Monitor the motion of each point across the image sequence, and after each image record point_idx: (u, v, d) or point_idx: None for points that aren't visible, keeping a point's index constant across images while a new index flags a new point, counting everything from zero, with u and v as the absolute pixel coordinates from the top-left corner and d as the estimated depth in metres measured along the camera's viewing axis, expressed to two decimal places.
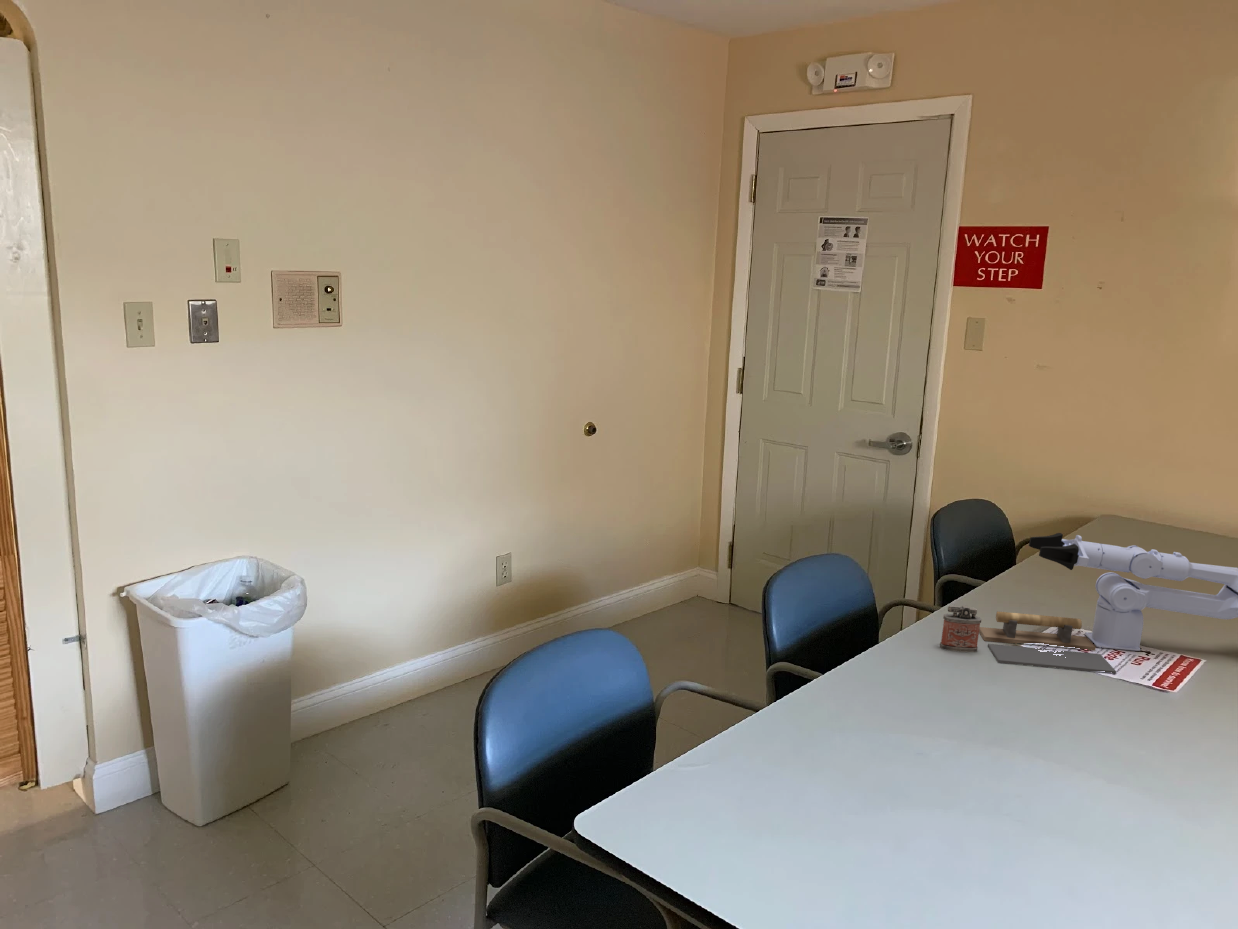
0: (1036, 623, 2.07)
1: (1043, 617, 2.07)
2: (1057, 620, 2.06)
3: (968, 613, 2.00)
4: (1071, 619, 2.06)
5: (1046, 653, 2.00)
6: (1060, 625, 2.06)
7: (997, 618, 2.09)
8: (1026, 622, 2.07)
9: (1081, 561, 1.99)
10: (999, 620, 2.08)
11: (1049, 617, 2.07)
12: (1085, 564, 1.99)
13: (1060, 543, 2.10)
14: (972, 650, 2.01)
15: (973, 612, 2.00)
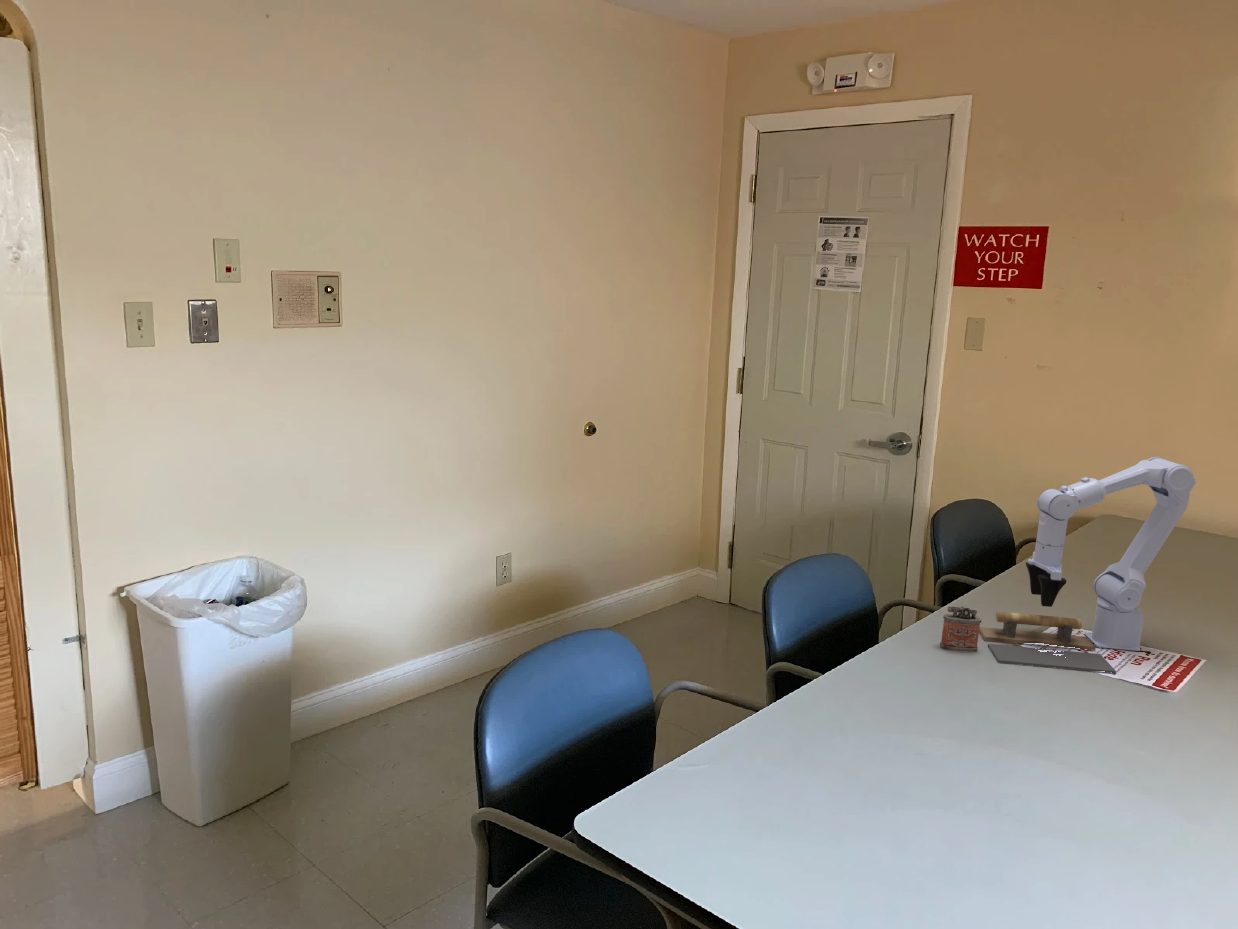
0: (1036, 623, 2.07)
1: (1043, 617, 2.07)
2: (1057, 620, 2.06)
3: (968, 613, 2.00)
4: (1071, 619, 2.06)
5: (1046, 653, 2.00)
6: (1060, 625, 2.06)
7: (997, 618, 2.09)
8: (1026, 622, 2.07)
9: (1056, 578, 1.98)
10: (999, 620, 2.08)
11: (1049, 617, 2.07)
12: (1059, 574, 1.98)
13: (1037, 566, 2.09)
14: (972, 650, 2.01)
15: (973, 612, 2.00)
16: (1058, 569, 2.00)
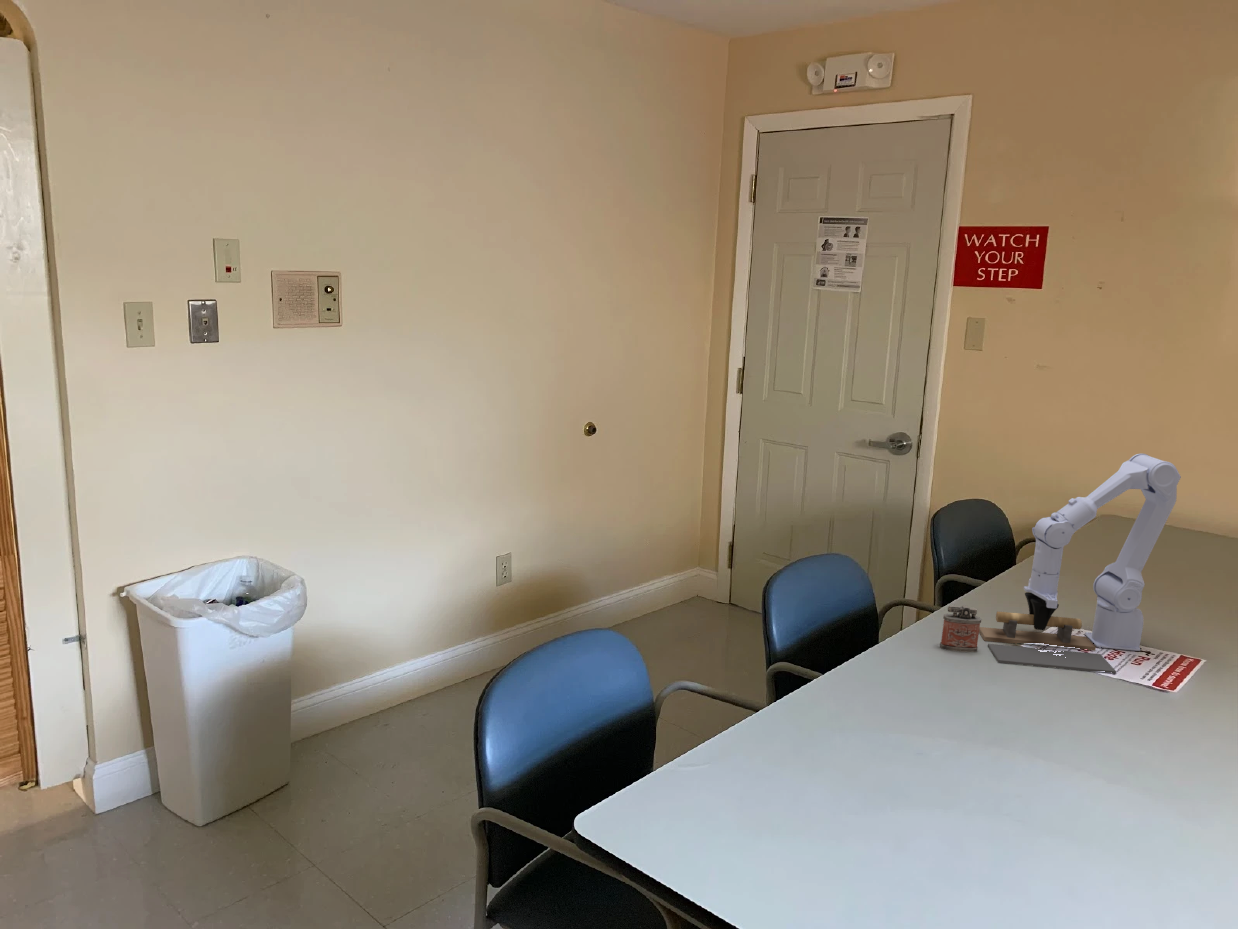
0: None
1: None
2: (1057, 620, 2.06)
3: (968, 613, 2.00)
4: (1071, 619, 2.06)
5: (1046, 653, 2.00)
6: (1060, 625, 2.06)
7: (997, 618, 2.09)
8: (1026, 622, 2.07)
9: (1052, 606, 1.99)
10: (999, 620, 2.08)
11: None
12: (1055, 602, 1.99)
13: (1036, 597, 2.08)
14: (972, 650, 2.01)
15: (973, 612, 2.00)
16: (1054, 597, 2.01)
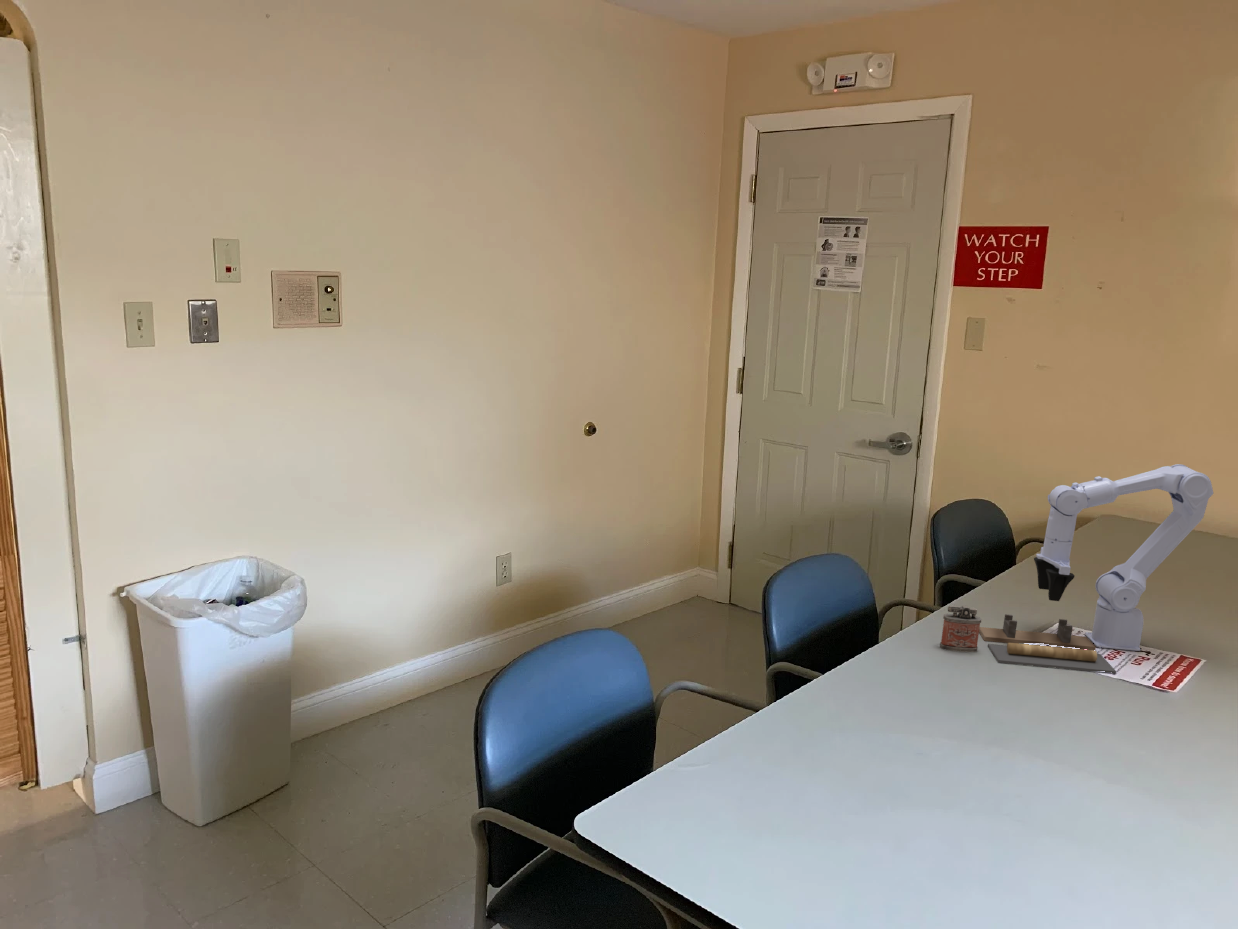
0: (1049, 655, 1.97)
1: (1057, 649, 1.97)
2: (1072, 652, 1.97)
3: (968, 613, 2.00)
4: (1086, 651, 1.96)
5: None
6: (1074, 658, 1.97)
7: (1008, 649, 1.99)
8: (1038, 654, 1.98)
9: (1064, 572, 2.00)
10: (1010, 652, 1.98)
11: (1063, 649, 1.97)
12: (1068, 568, 2.00)
13: (1045, 561, 2.11)
14: (972, 650, 2.01)
15: (973, 612, 2.00)
16: (1066, 564, 2.02)
